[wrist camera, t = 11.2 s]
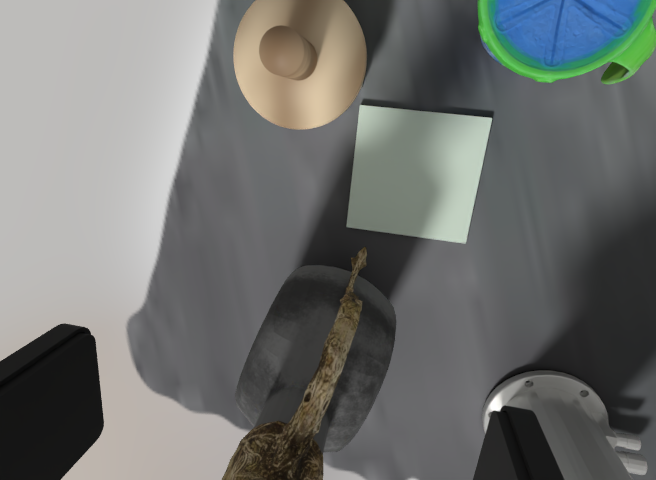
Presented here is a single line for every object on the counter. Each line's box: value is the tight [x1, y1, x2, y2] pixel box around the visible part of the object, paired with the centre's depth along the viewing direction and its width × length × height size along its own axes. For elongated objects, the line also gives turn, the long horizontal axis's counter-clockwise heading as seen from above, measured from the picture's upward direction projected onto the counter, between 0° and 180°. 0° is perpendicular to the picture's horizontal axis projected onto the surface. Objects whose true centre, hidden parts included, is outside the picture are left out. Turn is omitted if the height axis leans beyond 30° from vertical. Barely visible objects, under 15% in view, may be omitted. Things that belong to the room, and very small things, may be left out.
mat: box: [346, 105, 492, 244], centre depth 40 cm, size 12×12×1 cm
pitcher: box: [222, 247, 396, 480], centre depth 31 cm, size 11×19×30 cm, turn 158°
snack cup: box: [478, 0, 656, 84], centre depth 30 cm, size 16×10×10 cm
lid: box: [234, 0, 367, 129], centre depth 31 cm, size 11×11×6 cm
